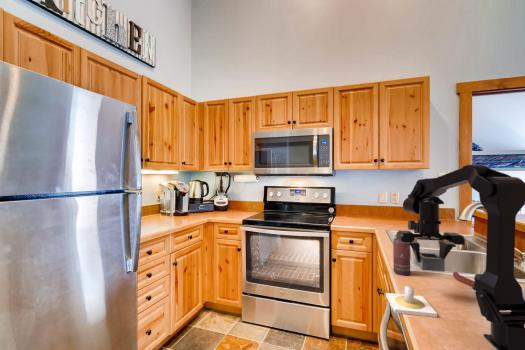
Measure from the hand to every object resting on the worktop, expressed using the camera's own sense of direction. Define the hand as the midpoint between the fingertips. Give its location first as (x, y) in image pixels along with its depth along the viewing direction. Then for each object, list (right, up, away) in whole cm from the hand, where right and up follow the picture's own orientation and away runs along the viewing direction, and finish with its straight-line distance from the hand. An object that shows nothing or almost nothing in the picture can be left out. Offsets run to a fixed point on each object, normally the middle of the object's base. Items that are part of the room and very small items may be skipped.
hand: (429, 262), depth 86 cm
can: (+2, -11, +20) cm, 23 cm away
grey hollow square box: (0, -2, 0) cm, 2 cm away
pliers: (+21, -12, +8) cm, 25 cm away
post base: (-11, -11, -7) cm, 17 cm away
